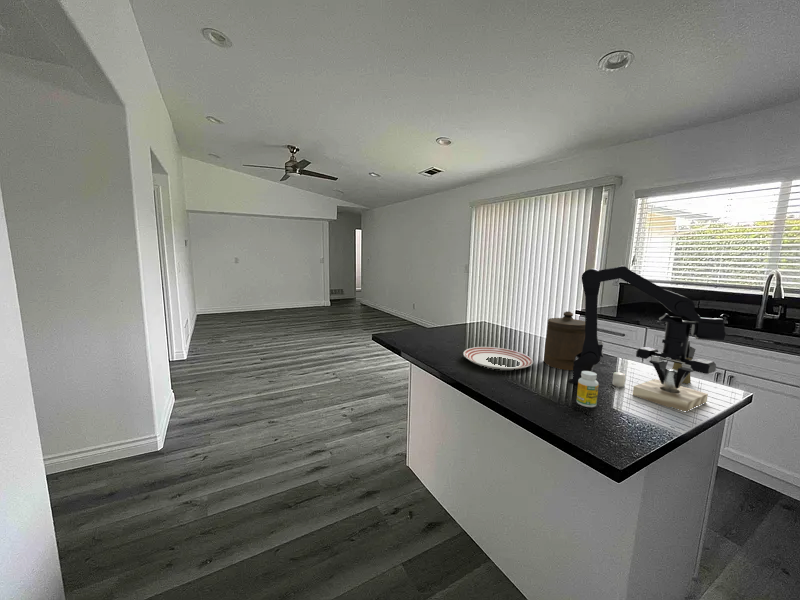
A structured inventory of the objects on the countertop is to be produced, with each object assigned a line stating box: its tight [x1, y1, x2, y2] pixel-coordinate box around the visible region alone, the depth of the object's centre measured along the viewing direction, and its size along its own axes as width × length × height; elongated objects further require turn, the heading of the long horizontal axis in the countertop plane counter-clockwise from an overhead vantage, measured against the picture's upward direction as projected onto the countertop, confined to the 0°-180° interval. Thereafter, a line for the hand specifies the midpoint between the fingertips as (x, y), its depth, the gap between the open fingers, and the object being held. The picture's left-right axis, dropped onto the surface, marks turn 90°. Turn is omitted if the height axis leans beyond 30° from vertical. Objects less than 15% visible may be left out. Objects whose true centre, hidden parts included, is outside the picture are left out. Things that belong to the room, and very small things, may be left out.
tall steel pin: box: [663, 368, 678, 393], centre depth 106 cm, size 4×4×8 cm
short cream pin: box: [611, 371, 626, 388], centre depth 118 cm, size 4×4×4 cm
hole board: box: [632, 378, 709, 412], centre depth 107 cm, size 14×14×3 cm
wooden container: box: [543, 311, 585, 371], centre depth 138 cm, size 15×15×22 cm
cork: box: [671, 358, 693, 385], centre depth 123 cm, size 6×6×11 cm
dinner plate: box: [462, 346, 534, 371], centre depth 140 cm, size 27×27×3 cm
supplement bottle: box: [576, 371, 599, 408], centre depth 101 cm, size 5×5×10 cm
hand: (670, 386), depth 106 cm, fingers closed on tall steel pin, 3 cm apart
